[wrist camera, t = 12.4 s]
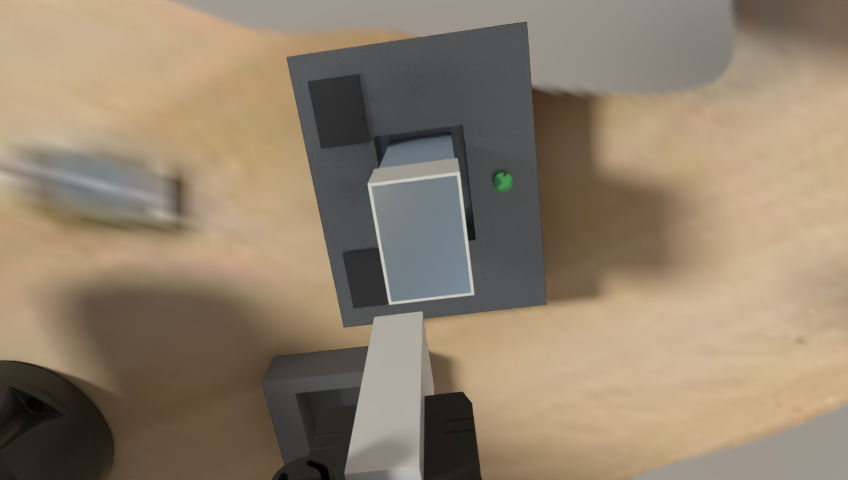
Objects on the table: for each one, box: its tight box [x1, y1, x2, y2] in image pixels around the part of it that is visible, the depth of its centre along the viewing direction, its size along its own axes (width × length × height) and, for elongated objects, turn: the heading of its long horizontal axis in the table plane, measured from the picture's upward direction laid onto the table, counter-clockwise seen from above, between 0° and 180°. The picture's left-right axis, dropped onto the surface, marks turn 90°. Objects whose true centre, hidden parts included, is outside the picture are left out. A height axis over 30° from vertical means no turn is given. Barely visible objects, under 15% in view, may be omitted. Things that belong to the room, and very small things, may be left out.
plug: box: [368, 132, 474, 305], centre depth 32 cm, size 4×6×12 cm
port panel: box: [286, 22, 547, 327], centre depth 37 cm, size 14×18×5 cm
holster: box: [262, 346, 369, 464], centre depth 44 cm, size 10×10×4 cm
